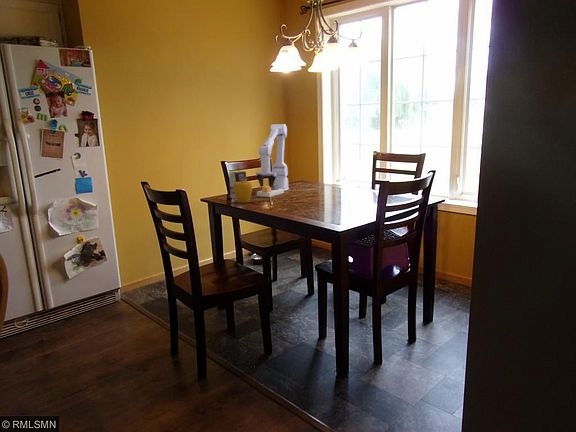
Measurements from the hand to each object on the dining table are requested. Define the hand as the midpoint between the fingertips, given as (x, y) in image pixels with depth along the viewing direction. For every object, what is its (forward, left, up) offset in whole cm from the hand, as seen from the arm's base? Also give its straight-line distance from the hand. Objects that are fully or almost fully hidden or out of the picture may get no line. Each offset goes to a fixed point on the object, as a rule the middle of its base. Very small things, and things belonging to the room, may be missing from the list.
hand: (266, 186), depth 271 cm
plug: (0, 0, -5) cm, 5 cm away
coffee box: (+11, -14, -6) cm, 19 cm away
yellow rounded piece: (+21, -2, -6) cm, 22 cm away
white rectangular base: (-4, 0, -6) cm, 7 cm away
